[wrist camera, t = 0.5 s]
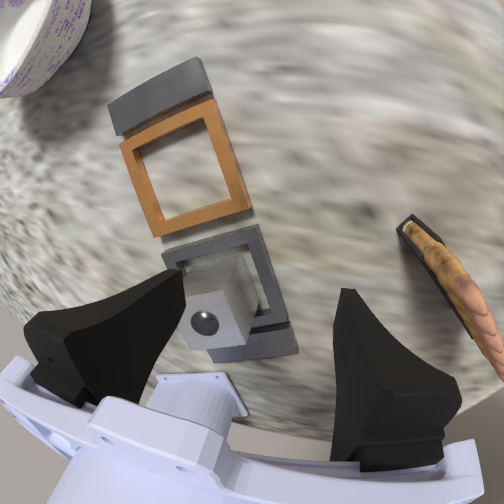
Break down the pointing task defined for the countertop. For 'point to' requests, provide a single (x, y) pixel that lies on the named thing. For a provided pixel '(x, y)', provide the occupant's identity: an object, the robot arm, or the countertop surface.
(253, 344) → the rail
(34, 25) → the paper bowls
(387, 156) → the countertop surface
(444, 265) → the ammunition clip
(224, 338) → the brushed metal block
